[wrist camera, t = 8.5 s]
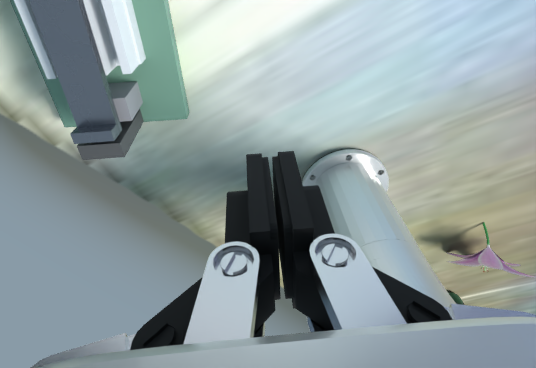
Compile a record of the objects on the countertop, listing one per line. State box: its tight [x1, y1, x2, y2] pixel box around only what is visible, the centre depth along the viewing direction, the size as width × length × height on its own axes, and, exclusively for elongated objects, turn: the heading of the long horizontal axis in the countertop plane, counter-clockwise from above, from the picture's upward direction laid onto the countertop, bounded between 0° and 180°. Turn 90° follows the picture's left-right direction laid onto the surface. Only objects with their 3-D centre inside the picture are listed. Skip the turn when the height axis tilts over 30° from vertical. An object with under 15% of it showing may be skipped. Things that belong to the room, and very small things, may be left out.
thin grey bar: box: [29, 0, 122, 144], centre depth 27 cm, size 19×4×3 cm, turn 2°
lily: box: [446, 223, 536, 278], centre depth 55 cm, size 12×12×10 cm
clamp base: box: [10, 0, 189, 160], centre depth 30 cm, size 22×14×10 cm, turn 3°
